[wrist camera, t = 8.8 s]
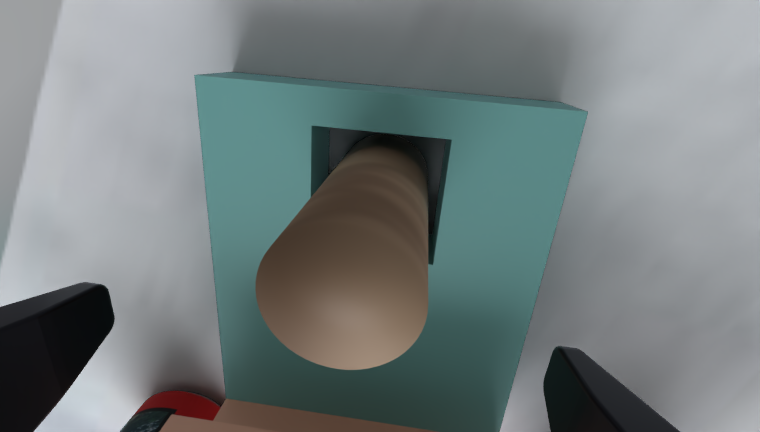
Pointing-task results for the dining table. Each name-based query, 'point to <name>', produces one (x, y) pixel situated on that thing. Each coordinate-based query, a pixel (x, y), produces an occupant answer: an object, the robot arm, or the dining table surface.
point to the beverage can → (170, 410)
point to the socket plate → (445, 248)
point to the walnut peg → (353, 261)
